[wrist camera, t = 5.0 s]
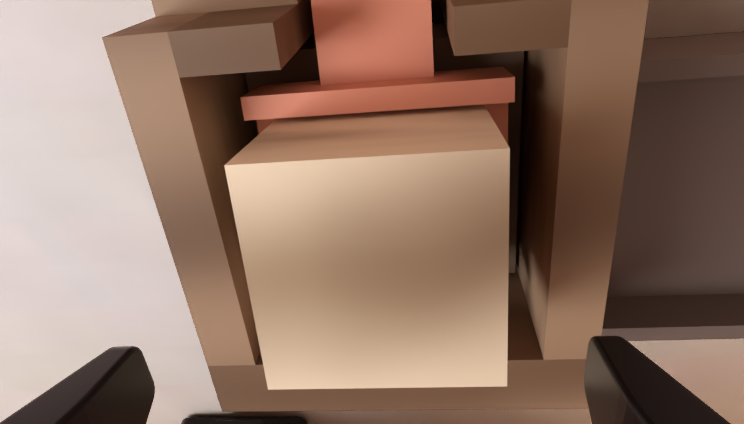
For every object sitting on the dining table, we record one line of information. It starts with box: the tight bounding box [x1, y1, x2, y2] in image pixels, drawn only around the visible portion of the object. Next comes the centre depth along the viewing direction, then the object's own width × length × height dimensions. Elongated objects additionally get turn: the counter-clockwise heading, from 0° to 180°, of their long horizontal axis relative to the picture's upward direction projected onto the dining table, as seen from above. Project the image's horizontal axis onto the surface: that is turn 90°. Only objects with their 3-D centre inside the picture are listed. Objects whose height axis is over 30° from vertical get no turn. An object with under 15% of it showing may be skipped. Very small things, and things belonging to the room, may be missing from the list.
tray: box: [601, 32, 744, 341], centre depth 18 cm, size 10×10×3 cm
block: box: [224, 104, 510, 390], centre depth 13 cm, size 6×6×4 cm
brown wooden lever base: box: [102, 0, 649, 412], centre depth 15 cm, size 19×12×6 cm, turn 5°
